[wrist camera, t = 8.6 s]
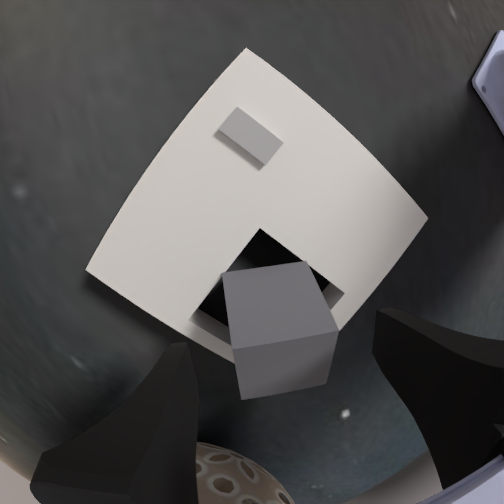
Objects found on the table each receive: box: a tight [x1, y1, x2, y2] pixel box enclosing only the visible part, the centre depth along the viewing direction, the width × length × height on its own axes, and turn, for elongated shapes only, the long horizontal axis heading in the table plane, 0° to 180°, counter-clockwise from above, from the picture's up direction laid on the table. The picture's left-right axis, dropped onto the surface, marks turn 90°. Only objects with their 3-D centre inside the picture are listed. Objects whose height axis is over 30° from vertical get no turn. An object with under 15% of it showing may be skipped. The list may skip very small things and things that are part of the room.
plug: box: [222, 261, 339, 400], centre depth 14 cm, size 4×4×5 cm
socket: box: [86, 48, 428, 364], centre depth 14 cm, size 12×12×2 cm
